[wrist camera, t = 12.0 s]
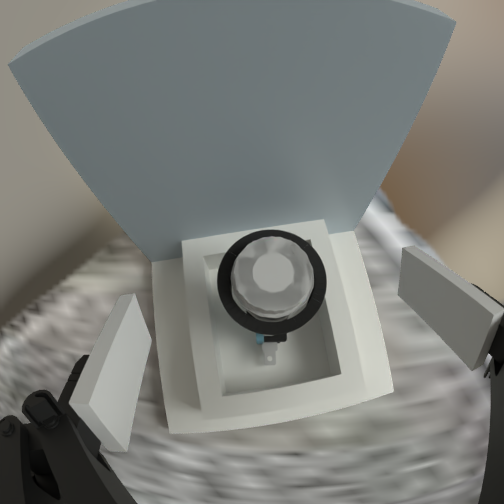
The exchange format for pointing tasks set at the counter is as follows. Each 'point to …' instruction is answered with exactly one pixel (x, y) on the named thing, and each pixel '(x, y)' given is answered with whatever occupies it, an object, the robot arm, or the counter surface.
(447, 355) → the counter surface
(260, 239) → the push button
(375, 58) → the holder
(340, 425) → the counter surface
